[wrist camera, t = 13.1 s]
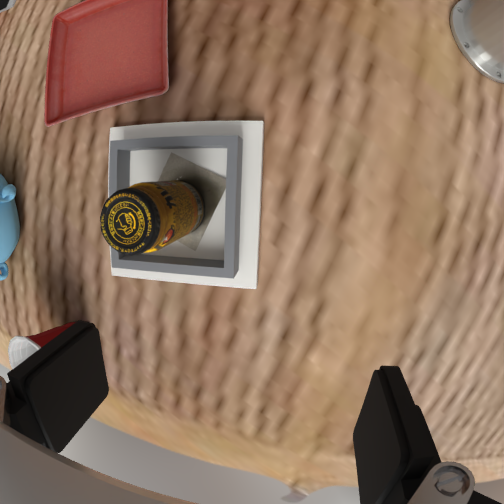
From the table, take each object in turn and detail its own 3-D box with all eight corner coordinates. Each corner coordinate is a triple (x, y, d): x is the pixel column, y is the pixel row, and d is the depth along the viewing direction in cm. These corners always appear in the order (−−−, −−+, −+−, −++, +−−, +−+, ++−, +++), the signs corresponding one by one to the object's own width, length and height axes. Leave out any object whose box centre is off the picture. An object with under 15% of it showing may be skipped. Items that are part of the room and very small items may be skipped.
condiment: (141, 220, 36) (80, 240, 24) (171, 152, 34) (115, 143, 22) (196, 250, 36) (151, 284, 24) (230, 181, 33) (196, 183, 22)
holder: (115, 128, 35) (96, 124, 31) (264, 122, 33) (260, 115, 29) (116, 272, 39) (99, 282, 35) (257, 285, 37) (252, 298, 33)
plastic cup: (59, 290, 41) (4, 321, 29) (117, 329, 41) (69, 374, 29) (50, 343, 44) (4, 378, 32) (102, 380, 44) (61, 425, 32)
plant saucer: (176, -19, 30) (167, -31, 27) (178, 99, 34) (168, 92, 30) (65, 22, 32) (52, 15, 29) (59, 130, 36) (44, 128, 33)
